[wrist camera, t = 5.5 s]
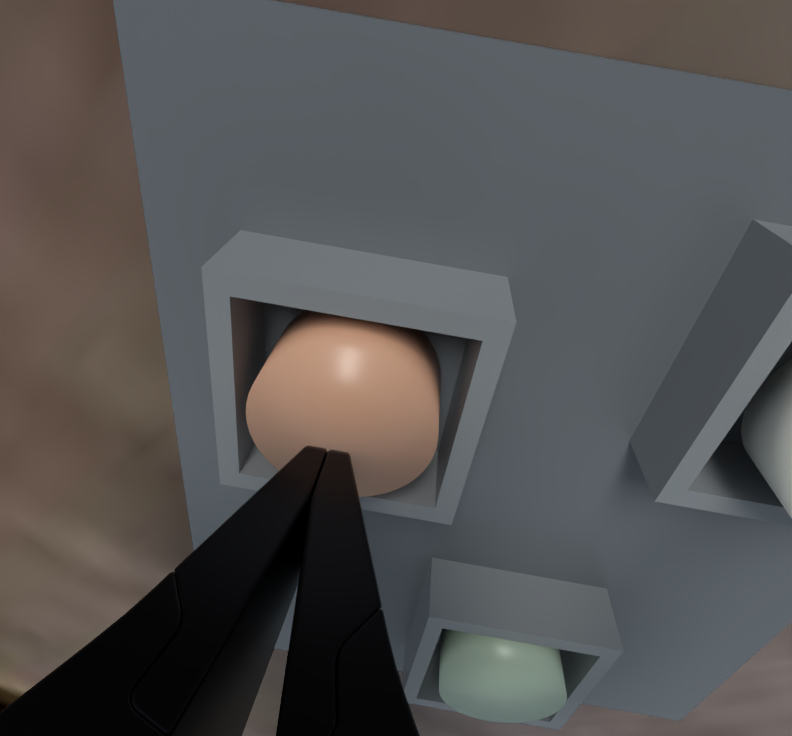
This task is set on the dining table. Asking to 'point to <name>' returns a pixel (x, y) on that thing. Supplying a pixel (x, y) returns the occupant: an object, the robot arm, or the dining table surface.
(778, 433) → the ivory button
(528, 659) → the sage button
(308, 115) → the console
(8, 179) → the dining table surface
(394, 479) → the terracotta button
